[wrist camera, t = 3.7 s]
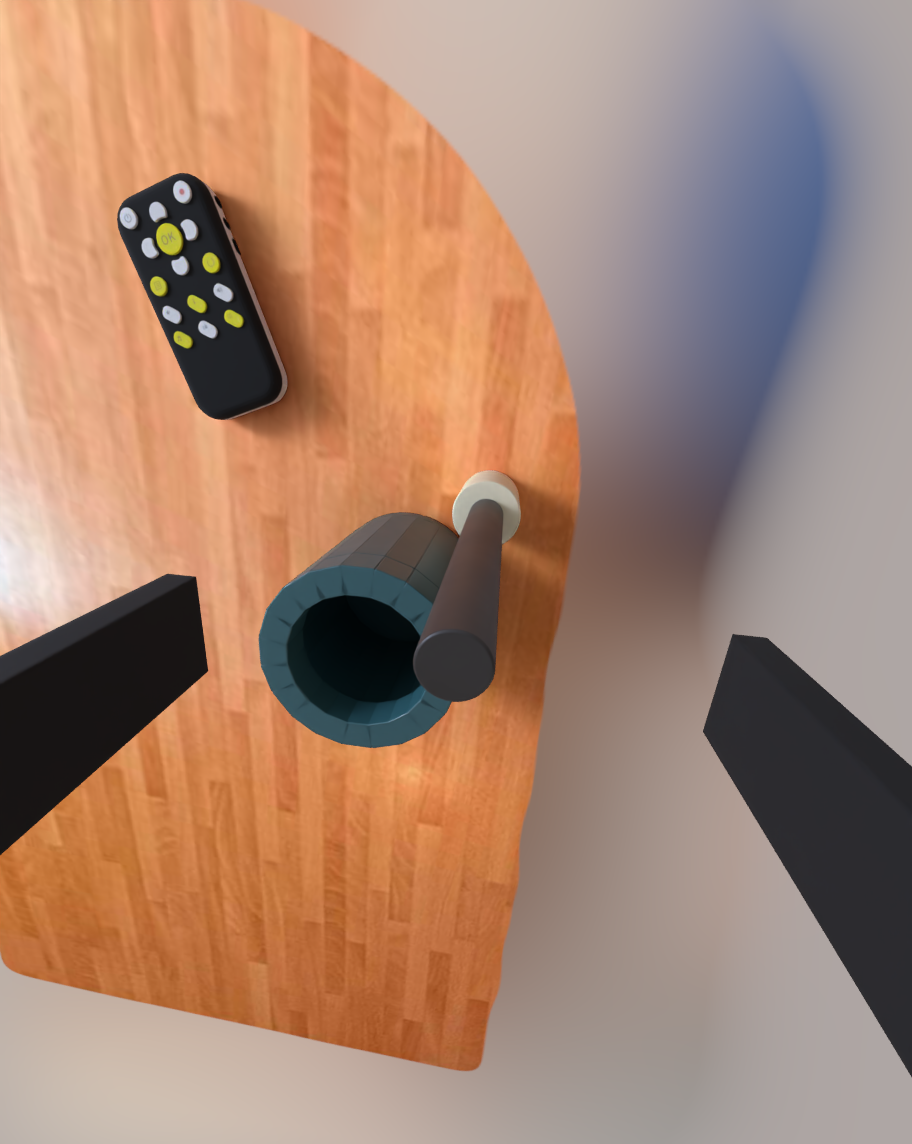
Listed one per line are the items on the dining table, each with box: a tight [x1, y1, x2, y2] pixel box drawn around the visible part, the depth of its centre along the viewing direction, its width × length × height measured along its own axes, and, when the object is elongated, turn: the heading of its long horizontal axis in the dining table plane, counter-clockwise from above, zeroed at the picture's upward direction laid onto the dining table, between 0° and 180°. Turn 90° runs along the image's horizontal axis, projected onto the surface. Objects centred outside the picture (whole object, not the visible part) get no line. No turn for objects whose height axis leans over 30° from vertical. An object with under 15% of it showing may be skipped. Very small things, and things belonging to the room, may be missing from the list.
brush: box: [413, 470, 521, 702], centre depth 21 cm, size 4×4×22 cm
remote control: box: [117, 173, 287, 420], centre depth 29 cm, size 6×13×2 cm, turn 17°
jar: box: [259, 512, 459, 748], centre depth 29 cm, size 10×10×12 cm
